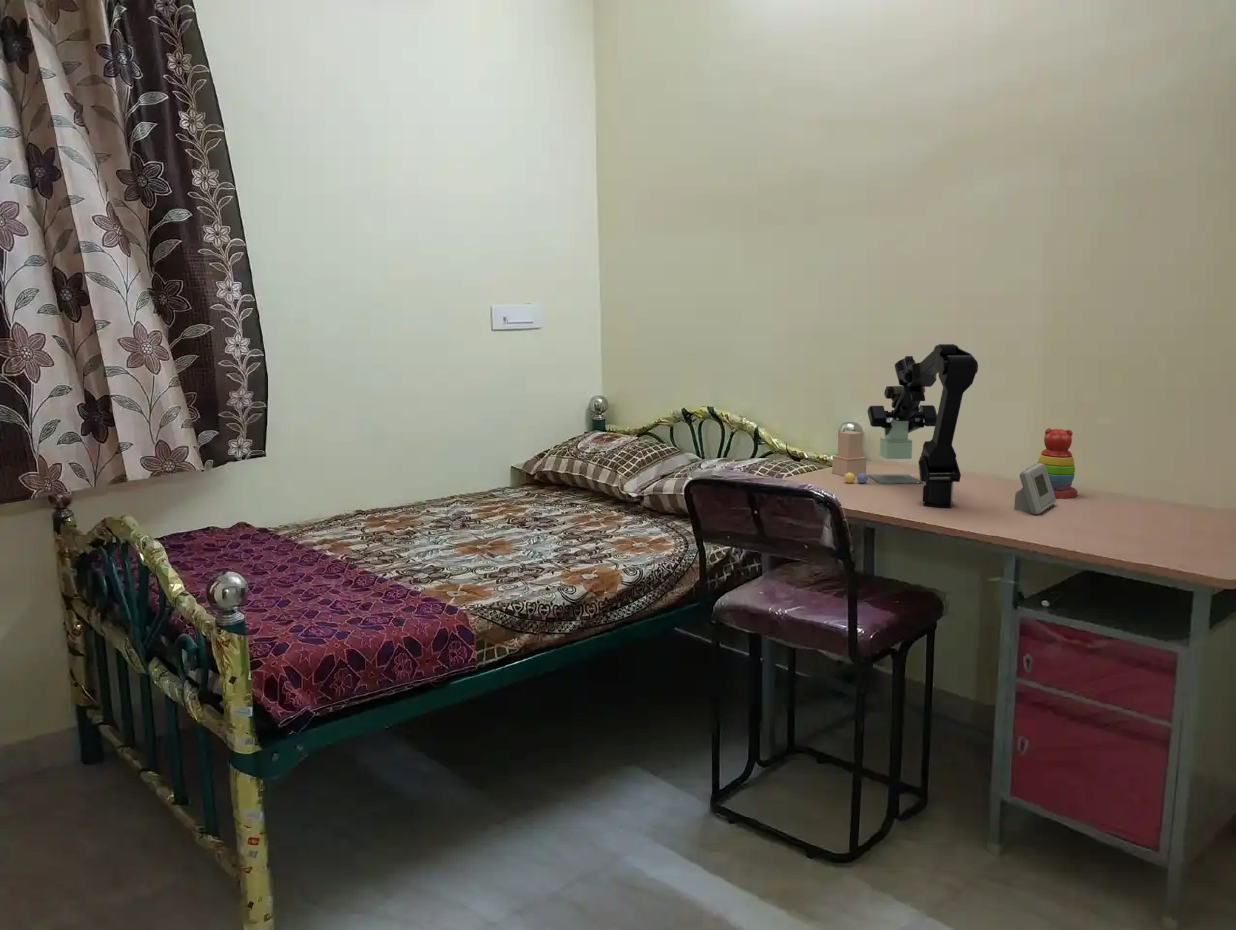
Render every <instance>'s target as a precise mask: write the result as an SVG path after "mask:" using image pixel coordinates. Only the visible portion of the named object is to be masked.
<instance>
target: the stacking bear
mask: <svg viewBox="0 0 1236 930" xmlns="http://www.w3.org/2000/svg"><path fill="white" fill-rule="evenodd" d="M1073 433H1074V432H1073V431H1072V430H1071V429H1061V428H1053V429H1052V428H1045V431H1044V434H1045V435H1044V438H1043V443H1044V447H1045V448H1044V449H1043V450H1042V451H1041V454H1040V455H1039V458H1038V460H1037V463H1036V464H1038V463H1042V464H1044V465H1045V467H1046V470H1047V473H1048V476H1049V479H1050V483H1051V486H1052V489H1053V492H1054V495H1055V499H1069V498H1073V497H1076V496H1077V495H1078V489H1076V488H1075V487H1072V484H1073V481H1074V480H1075V479H1074V478H1075V473H1076V466H1075V460H1074V459H1075V458H1074V457H1073V454H1072V452H1071V451H1070V450H1069V449H1070V447H1071V446H1072V444H1073V437H1072V436H1073Z"/></svg>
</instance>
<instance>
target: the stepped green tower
mask: <svg viewBox="0 0 1236 930" xmlns="http://www.w3.org/2000/svg"><path fill="white" fill-rule="evenodd" d="M908 422H909V421H897V420H892V422H891V425H892V428H891V430H890V432H889V433H888V434H887V435H885V434H884V437H880V438H879V456H880V457H882V458H883V459H887V460H911V459H912V454H913V440H912V439H909V438H908V437H909V433H908Z"/></svg>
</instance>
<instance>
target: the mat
mask: <svg viewBox="0 0 1236 930" xmlns="http://www.w3.org/2000/svg"><path fill="white" fill-rule="evenodd" d="M867 476H868V478H870V479H872V480H873V481H875V482H876V483H879V484H880V485H893V484H892V483H917V482H922V483H923V481H920V480H919V479H918V478H916V477H914V476H913V475H910V474H908V473H900V474H899V473H897V474H896V473H893V474H892V473H891V474H890V473H889V474H884V473H883V474H882V473H881V474H867Z"/></svg>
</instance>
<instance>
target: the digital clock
mask: <svg viewBox="0 0 1236 930" xmlns="http://www.w3.org/2000/svg"><path fill="white" fill-rule="evenodd" d="M1037 463H1038V462H1037ZM1037 463H1035V464H1033V465H1031V466H1029V467H1027V468H1025V469H1024V470H1023V471H1022V472H1020V473H1019V479H1020V482H1021V485H1022V488H1020V489H1019V490H1018V491H1016V492H1015V497H1014V506H1013V507H1014V508H1013V510H1014V511H1018V510H1021V512H1026V511H1030V512H1029V513H1031V514H1033V515H1040V514H1042V513H1044V512H1045V511H1046V510H1045V509H1047V508H1048V507H1050V508H1051V507H1052V506H1053V505H1054V504H1056V503H1057V500H1056V499H1057V498H1055V495H1054V492H1053V489H1052V486H1051V483H1050V479H1049V476H1048V473H1047V470H1046V467H1045V465H1044V464H1042V463H1038V464H1037ZM1048 509H1049V508H1048ZM1048 509H1047V510H1048ZM1044 510H1045V511H1044ZM1043 511H1044V512H1043ZM1041 512H1042V513H1041Z"/></svg>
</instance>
